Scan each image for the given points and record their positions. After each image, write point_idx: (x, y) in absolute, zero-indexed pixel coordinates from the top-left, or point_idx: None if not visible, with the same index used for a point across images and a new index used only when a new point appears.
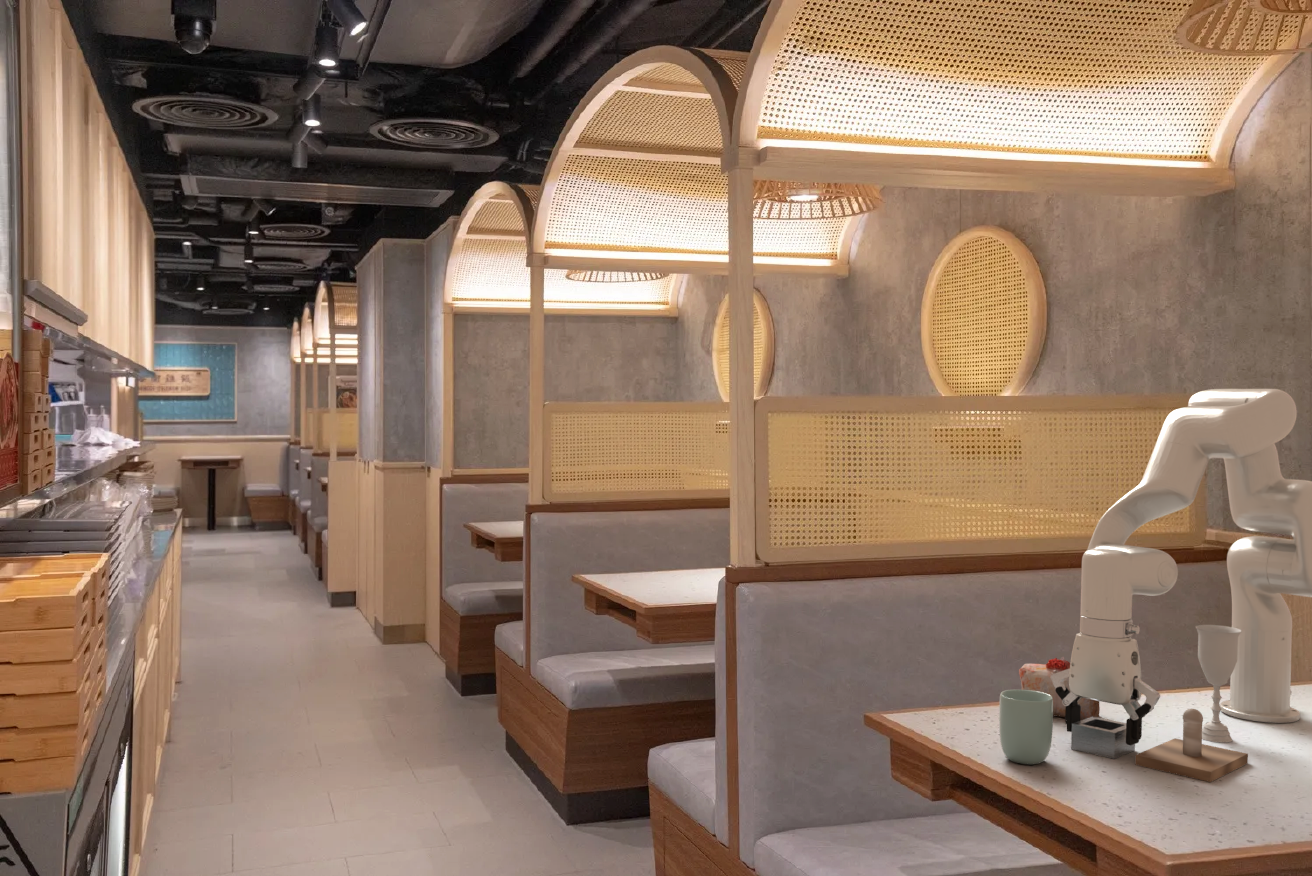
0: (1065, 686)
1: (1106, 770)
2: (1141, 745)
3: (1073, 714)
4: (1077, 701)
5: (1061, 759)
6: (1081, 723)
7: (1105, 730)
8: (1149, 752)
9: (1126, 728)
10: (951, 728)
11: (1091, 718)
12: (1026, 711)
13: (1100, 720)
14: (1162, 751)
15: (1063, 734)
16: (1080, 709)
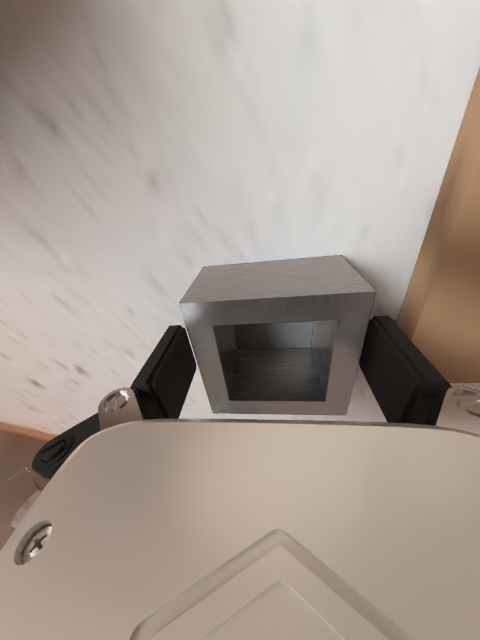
0: (48, 470)
1: (343, 417)
2: (336, 159)
3: (179, 399)
4: (137, 401)
5: (255, 415)
6: (225, 398)
7: (313, 412)
8: (426, 344)
9: (379, 403)
10: (29, 395)
11: (199, 333)
12: None
13: (229, 322)
14: (469, 310)
15: (115, 269)
16: (159, 370)
